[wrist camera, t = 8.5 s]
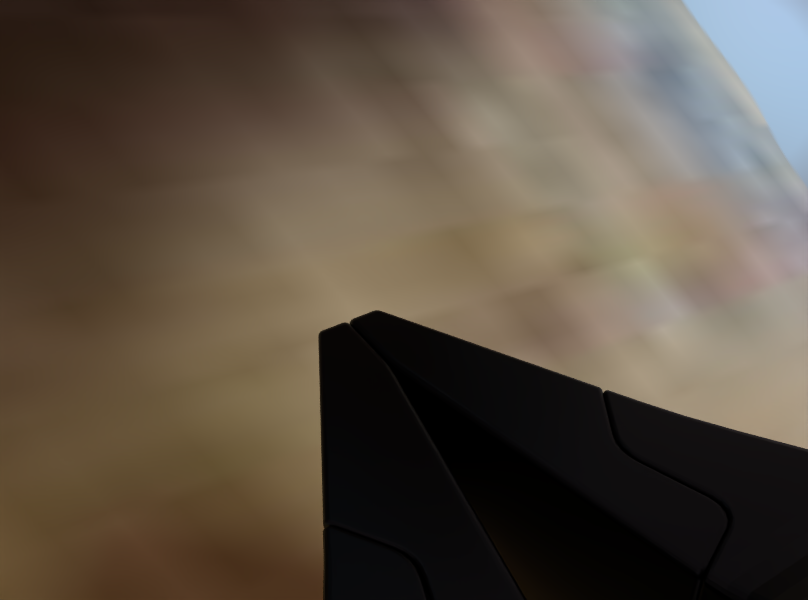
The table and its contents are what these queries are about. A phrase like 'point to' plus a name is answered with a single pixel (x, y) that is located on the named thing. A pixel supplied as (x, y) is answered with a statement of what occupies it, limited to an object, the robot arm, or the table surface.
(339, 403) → the robot arm
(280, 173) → the table surface
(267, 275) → the table surface
